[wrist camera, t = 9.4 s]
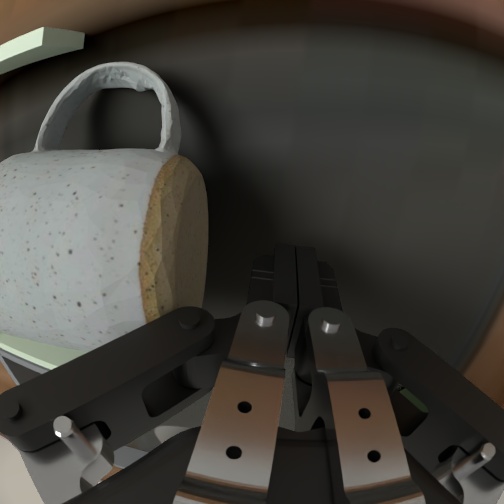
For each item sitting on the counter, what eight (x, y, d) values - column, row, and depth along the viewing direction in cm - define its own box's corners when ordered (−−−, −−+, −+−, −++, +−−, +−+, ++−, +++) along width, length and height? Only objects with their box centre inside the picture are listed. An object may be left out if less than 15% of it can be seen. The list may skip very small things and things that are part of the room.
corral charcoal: (121, 358, 19) (106, 391, 16) (161, 457, 29) (155, 477, 26) (9, 323, 19) (-9, 345, 17) (76, 430, 29) (68, 448, 26)
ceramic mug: (218, 286, 15) (182, 421, 8) (80, 272, 15) (4, 367, 9) (218, 56, 10) (138, 0, 3) (54, 82, 10) (-76, 103, 4)
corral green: (84, 33, 9) (44, 26, 6) (120, 355, 19) (104, 388, 16) (-43, 83, 9) (-75, 91, 7) (7, 320, 19) (-11, 342, 16)
